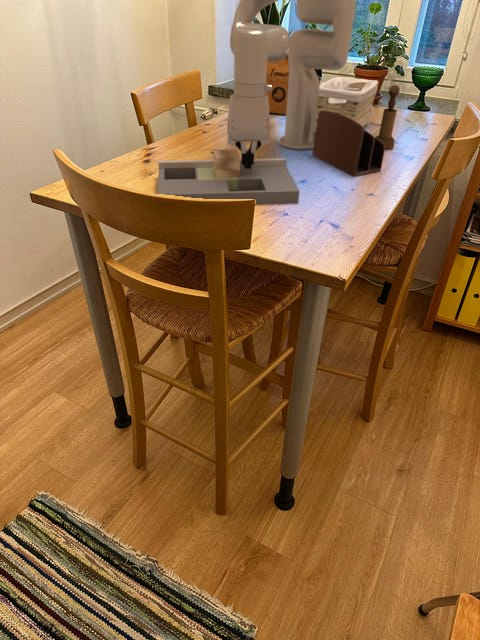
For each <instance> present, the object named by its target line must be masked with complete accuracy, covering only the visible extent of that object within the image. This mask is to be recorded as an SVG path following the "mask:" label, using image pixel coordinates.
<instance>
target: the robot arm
mask: <svg viewBox="0 0 480 640" xmlns="http://www.w3.org/2000/svg"><path fill="white" fill-rule="evenodd" d="M278 1H279V0H239V2H238V5H237V7H236V10H235V13H234V16H233V21H232V24H231V25H232V26H231V29H230V36H229V37H230V38H229V46H230V47H229V48H230V51H231V53H232V54H233V57H234V58H233V59H234V62H233V63H234V64H233V66H234V70H233V94H231V95H230V97H229V103H228V112H227V138H226V144H227V145H229V146H232V147H236V148H237V149H238V150H239V151H240V152H241V159H242V165H244V168H245V169H251V165H254V159H255V153H256V152H257V150H258V149H259V148H260V147H262V146H265V145H269V144H270V129H271V126H270V124H271V123H270V121H271V119H270V118H271V117H270V114H271V113H269V101H268V96H267V95H266V93H267V92H268V91H272V85H269V84H267V83H266V76H267V63H269V62H272V63H276V62H280V61H282V60H283V59H284V58H285V57H286V56H287V54H288V60H289V83H288V96H287V109H286V115H285V123H284V124H285V125H284V135H283V136H281V137H279V142H278V143H279V145H280V146H282V147H284V148H287V149H291V150H300V151H301V150H313V147H314V141H315V133H316V129H315V125H316V117H317V108H318V99H319V91H320V84H321V83H320V79H319V76H318V74H317V72H316V71H315V70H317V69H318V70H325V71H326V70H327V71H341V70H342V69H343V68H344V67H345V66H346V64H347V63H348V62H347V61H348V58H349V53H350V49H351V48H350V46H351V40H352V32H353V26H354V18H355V10H356V0H296V16H297V19H298V21H300V22H302V23H305V24H313V25H323V26H331V27H332V28H333V29H332V30H323V29H310V28H303V29H302V28H301V29H298V30H296V31H294V32H292V33H291V35H290V33H289V31H288V30H287V29H286V28H285V27H283V26H281V25H276V24H266V23H258V22H257V23H256V22H255V23H254V19H256V16H257V15H258V14H259V13H260V12H261V11H262V10H263V9H265V8H266V7H267V6H270V5H271V4H273V3H276V2H278ZM246 142H250V143H249V147H248V149H247V144H246Z"/></svg>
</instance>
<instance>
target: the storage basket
mask: <svg viewBox="0 0 480 640" xmlns="http://www.w3.org/2000/svg"><path fill="white" fill-rule="evenodd" d="M349 87H353V88H359V89H361V90H360V91H357V92H356V91H349ZM378 87H379V81H378V80H374V79H371V80H370V79H364V78H358V77H357V78H356V77H355V78H353V77H345V76H337V77H333V78H330V79H329V80H327V81H325V82H323V83H320V91H319V99H318V108H317V117H316V125H315V129H316V127H317V121H318V114H319V112H320V111H329V112H334V113H338V114H341V115H343V116H345V117H348V118H350V119H352V120H353V121H355V122H357V123H358V124H360V125H361V126H363V128H365V126H367V125H368V123H369V119H370V116H371V113H372V108H373V106H374V105H373V104H374V100H375V96H376V94H377V91H378Z"/></svg>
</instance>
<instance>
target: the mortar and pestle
mask: <svg viewBox="0 0 480 640" xmlns="http://www.w3.org/2000/svg"><path fill="white" fill-rule="evenodd" d="M400 89H401V88H400V86H399V85H397V84H394V85H391V86H390V87H389V89H388V94H389V96H390V97H389V100H388V103H387V104H388V105H387V107H388V108H384V109H383V111H382V112H383V113H382V119H381V123H380V128H379V132H378V135H376V136H374V137H375V138H377V139H379V140H380V141H381V142H383V143H384V145H385V150H386V151H387V150H393V149H394V146H395V143H396V140H395V139H394V137H392V135H393V131H394V130H393V129H394V126H395V121H396V116H397V109H395V107H396V104H397V101H396V98H397V96H398V95H399V93H400Z"/></svg>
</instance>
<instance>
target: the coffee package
mask: <svg viewBox="0 0 480 640" xmlns="http://www.w3.org/2000/svg"><path fill="white" fill-rule="evenodd" d="M266 83H267V84H269V85H272V91H268V92H267V93H266V95H267V96H268V101H269V114H275V115H276V114H278V115H283V116H286V109H287V96H288V83H289V60H288V54H287V56H286V57H285V58H284V59H283V60H282V61H280V62H276V63H272V62H269V63H267V76H266Z"/></svg>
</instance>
